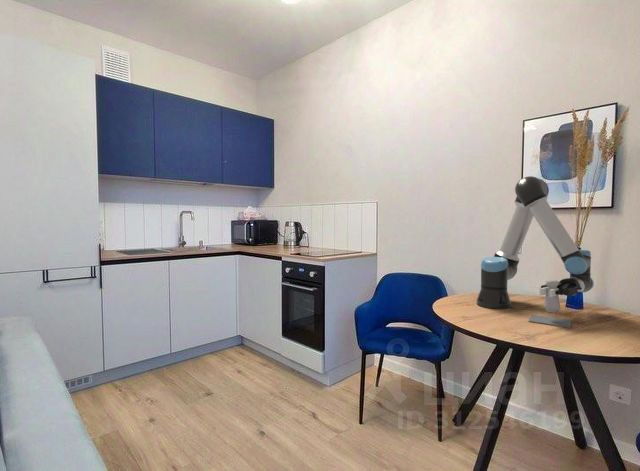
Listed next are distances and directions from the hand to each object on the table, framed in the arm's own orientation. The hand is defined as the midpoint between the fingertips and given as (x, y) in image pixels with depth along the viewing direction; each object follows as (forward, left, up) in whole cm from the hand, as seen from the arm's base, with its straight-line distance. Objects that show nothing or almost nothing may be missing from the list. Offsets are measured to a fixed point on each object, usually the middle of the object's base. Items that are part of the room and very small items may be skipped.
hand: (545, 292), depth 139 cm
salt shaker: (+2, +5, -9) cm, 10 cm away
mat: (+1, +5, -13) cm, 14 cm away
